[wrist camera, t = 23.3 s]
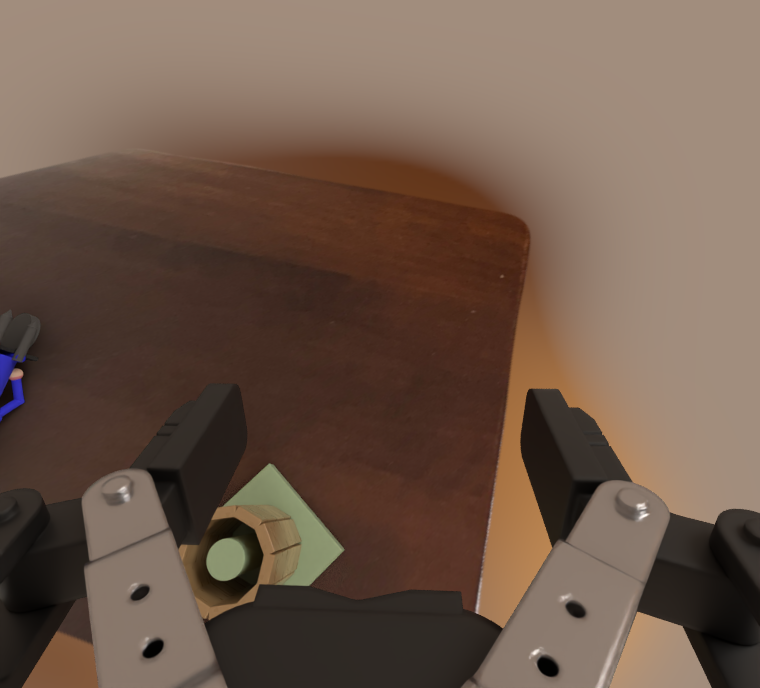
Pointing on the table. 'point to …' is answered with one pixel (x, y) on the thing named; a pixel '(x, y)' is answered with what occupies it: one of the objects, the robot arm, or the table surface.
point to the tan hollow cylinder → (221, 596)
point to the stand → (244, 548)
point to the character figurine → (15, 353)
